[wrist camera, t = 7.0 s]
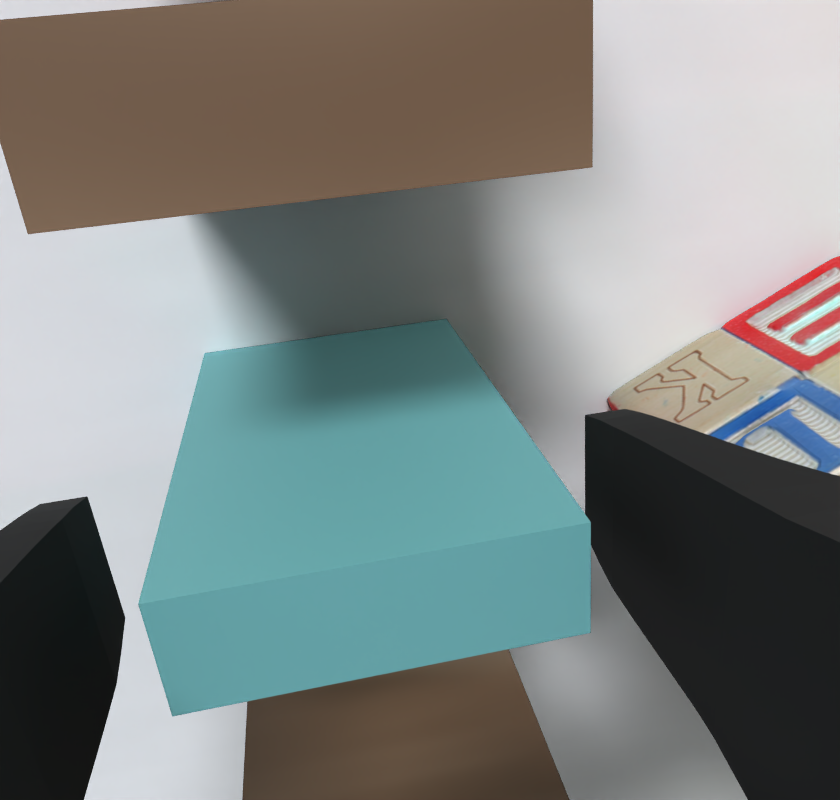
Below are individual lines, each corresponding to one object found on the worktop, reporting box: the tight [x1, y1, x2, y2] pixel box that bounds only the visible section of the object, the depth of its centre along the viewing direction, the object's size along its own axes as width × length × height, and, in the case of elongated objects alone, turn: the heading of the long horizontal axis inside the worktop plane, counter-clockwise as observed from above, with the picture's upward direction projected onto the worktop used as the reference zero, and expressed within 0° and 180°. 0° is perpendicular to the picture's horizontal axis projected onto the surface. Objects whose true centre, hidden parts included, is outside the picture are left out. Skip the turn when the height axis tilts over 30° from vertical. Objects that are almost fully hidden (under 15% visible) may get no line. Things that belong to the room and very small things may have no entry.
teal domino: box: [138, 319, 591, 716], centre depth 12 cm, size 2×5×8 cm, turn 95°
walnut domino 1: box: [0, 0, 593, 234], centre depth 10 cm, size 2×5×8 cm, turn 95°
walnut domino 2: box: [242, 649, 569, 800], centre depth 14 cm, size 2×5×8 cm, turn 95°
